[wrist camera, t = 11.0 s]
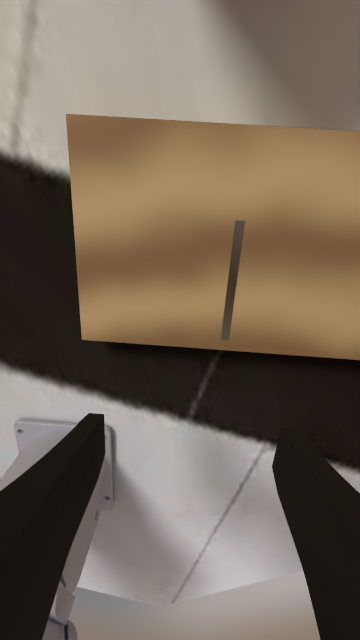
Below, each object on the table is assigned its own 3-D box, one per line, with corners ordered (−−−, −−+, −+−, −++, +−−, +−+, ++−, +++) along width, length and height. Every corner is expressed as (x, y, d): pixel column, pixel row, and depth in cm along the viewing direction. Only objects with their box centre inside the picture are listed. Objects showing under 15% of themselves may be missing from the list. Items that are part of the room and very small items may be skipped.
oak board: (518, 355, 19) (563, 375, 17) (94, 325, 20) (81, 339, 17) (625, 162, 15) (705, 151, 13) (84, 129, 16) (65, 113, 13)
